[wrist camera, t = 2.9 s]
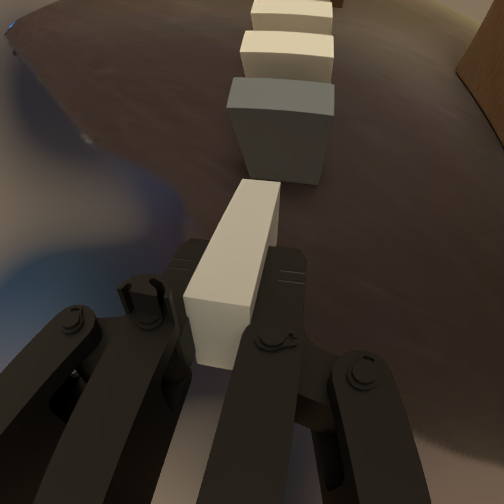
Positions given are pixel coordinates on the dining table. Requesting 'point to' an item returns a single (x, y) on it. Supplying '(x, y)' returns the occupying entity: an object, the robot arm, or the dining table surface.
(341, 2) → the end block
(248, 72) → the domino
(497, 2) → the wooden block
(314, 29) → the domino
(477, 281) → the dining table surface
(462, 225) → the dining table surface
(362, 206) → the dining table surface
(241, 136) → the domino
